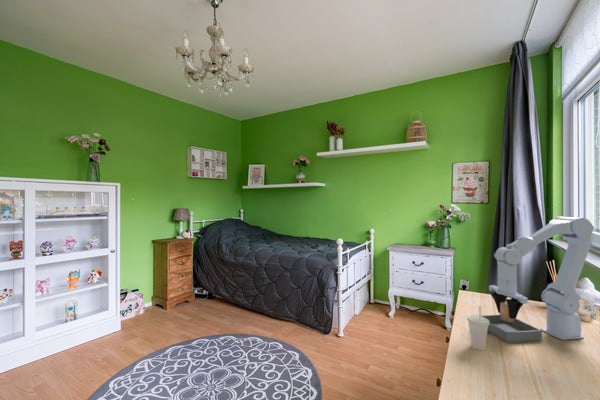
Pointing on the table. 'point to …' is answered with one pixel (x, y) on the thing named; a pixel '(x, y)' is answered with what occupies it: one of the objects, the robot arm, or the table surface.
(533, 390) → the table surface
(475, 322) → the smoothie
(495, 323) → the tub
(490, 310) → the table surface
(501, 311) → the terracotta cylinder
